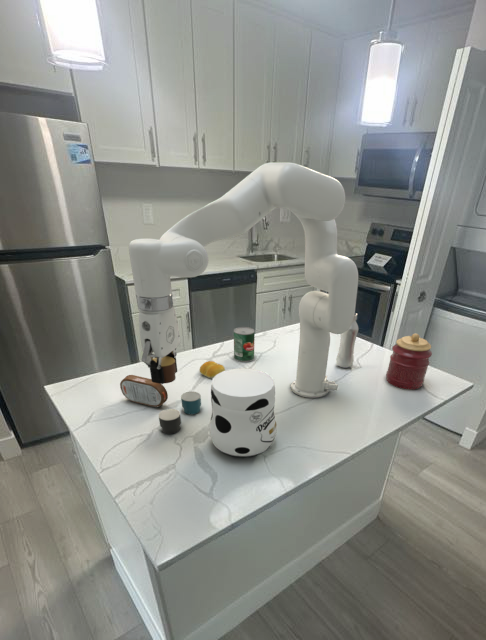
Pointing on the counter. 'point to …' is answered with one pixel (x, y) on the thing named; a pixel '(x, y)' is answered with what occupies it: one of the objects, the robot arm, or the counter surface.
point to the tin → (143, 391)
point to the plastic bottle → (347, 345)
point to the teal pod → (191, 402)
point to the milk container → (243, 412)
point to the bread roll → (211, 369)
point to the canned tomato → (244, 344)
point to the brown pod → (168, 368)
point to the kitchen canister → (409, 362)
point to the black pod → (170, 421)
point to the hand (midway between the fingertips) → (164, 376)
